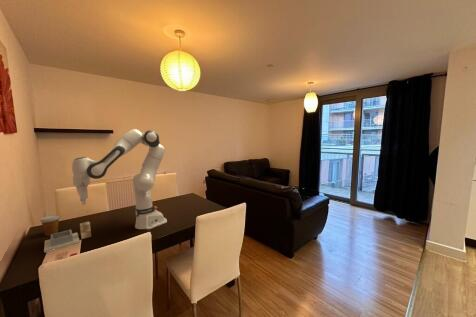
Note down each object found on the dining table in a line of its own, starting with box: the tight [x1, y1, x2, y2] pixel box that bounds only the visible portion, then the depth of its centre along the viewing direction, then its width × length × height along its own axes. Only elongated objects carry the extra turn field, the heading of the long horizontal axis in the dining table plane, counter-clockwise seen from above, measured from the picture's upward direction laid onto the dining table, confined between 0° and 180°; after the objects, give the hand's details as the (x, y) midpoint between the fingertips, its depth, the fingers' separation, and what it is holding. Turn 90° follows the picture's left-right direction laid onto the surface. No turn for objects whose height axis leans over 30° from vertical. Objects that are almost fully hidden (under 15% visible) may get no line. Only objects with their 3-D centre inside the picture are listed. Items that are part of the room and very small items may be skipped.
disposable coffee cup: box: [40, 214, 60, 237], centre depth 137 cm, size 10×10×12 cm
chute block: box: [79, 221, 92, 240], centre depth 133 cm, size 5×5×9 cm
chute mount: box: [43, 229, 80, 254], centre depth 125 cm, size 16×15×6 cm
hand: (83, 202), depth 131 cm, fingers open, 8 cm apart
